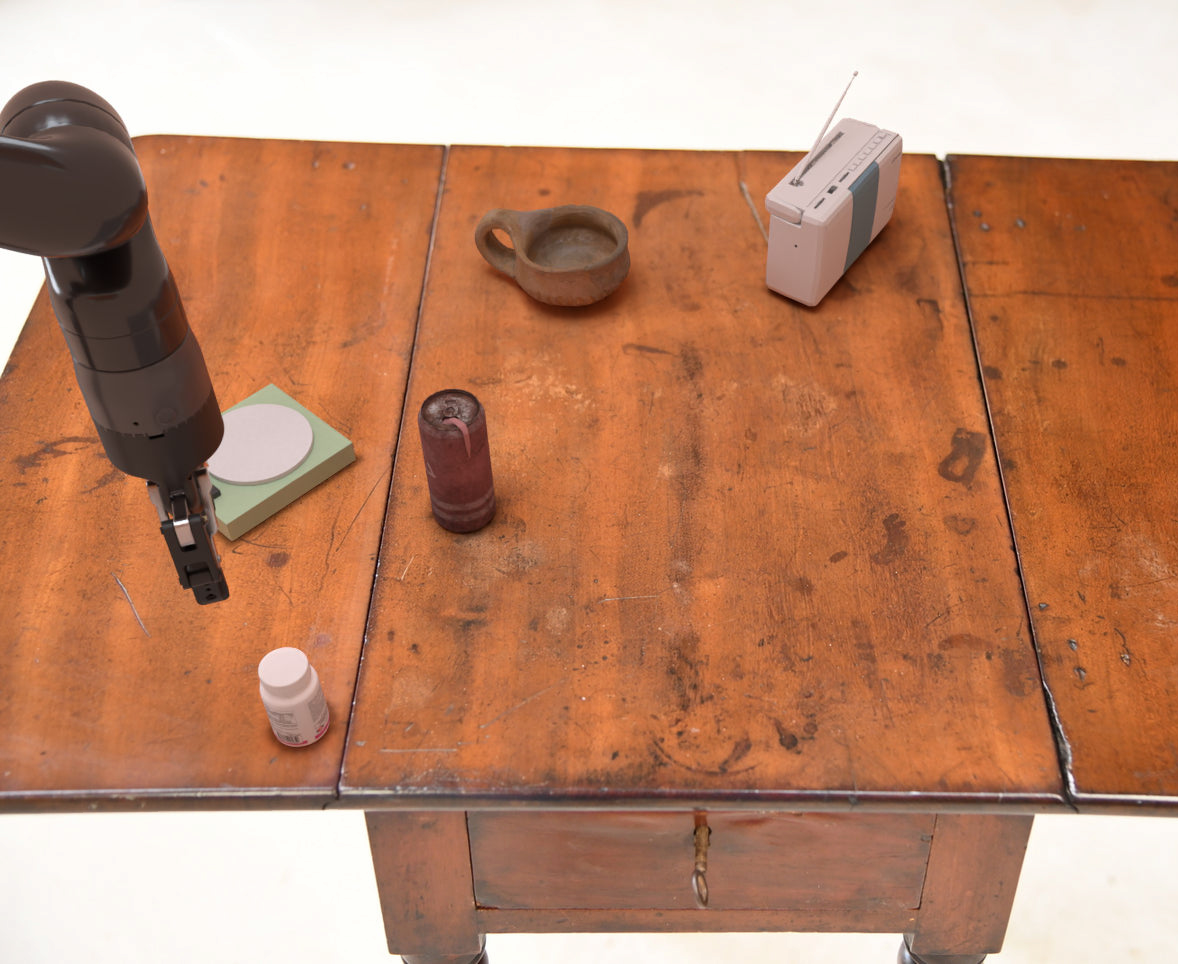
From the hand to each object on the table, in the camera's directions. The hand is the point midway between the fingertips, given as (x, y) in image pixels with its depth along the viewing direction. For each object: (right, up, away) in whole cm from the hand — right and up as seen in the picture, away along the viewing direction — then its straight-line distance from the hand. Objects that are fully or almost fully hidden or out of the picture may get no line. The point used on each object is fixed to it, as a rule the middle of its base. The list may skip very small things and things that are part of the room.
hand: (207, 555), depth 100 cm
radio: (+50, +32, +67) cm, 89 cm away
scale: (-10, +7, +39) cm, 41 cm away
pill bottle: (+1, -16, +19) cm, 25 cm away
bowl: (+17, +28, +62) cm, 70 cm away
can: (+12, +2, +37) cm, 38 cm away
